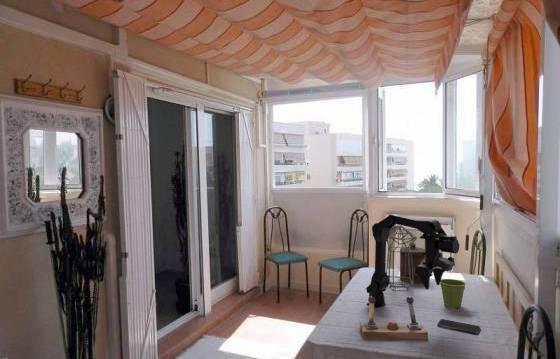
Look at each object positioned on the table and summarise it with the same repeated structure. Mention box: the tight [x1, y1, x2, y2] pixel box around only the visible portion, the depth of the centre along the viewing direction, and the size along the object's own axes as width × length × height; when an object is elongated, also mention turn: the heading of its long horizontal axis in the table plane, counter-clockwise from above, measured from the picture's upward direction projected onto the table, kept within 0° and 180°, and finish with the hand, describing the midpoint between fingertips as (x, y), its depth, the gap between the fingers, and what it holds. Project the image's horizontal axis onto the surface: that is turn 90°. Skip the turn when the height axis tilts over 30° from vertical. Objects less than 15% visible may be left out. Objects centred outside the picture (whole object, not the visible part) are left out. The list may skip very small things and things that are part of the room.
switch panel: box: [359, 320, 429, 340], centre depth 146 cm, size 9×24×4 cm, turn 86°
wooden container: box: [399, 242, 425, 284], centre depth 221 cm, size 15×15×22 cm
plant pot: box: [439, 278, 467, 309], centre depth 176 cm, size 12×12×11 cm
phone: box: [436, 318, 481, 336], centre depth 151 cm, size 8×1×15 cm
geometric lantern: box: [385, 224, 418, 292], centre depth 203 cm, size 16×16×35 cm
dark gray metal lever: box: [367, 296, 376, 325], centre depth 148 cm, size 3×3×11 cm
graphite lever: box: [405, 296, 419, 325], centre depth 147 cm, size 3×3×11 cm
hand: (432, 287), depth 157 cm, fingers open, 9 cm apart
